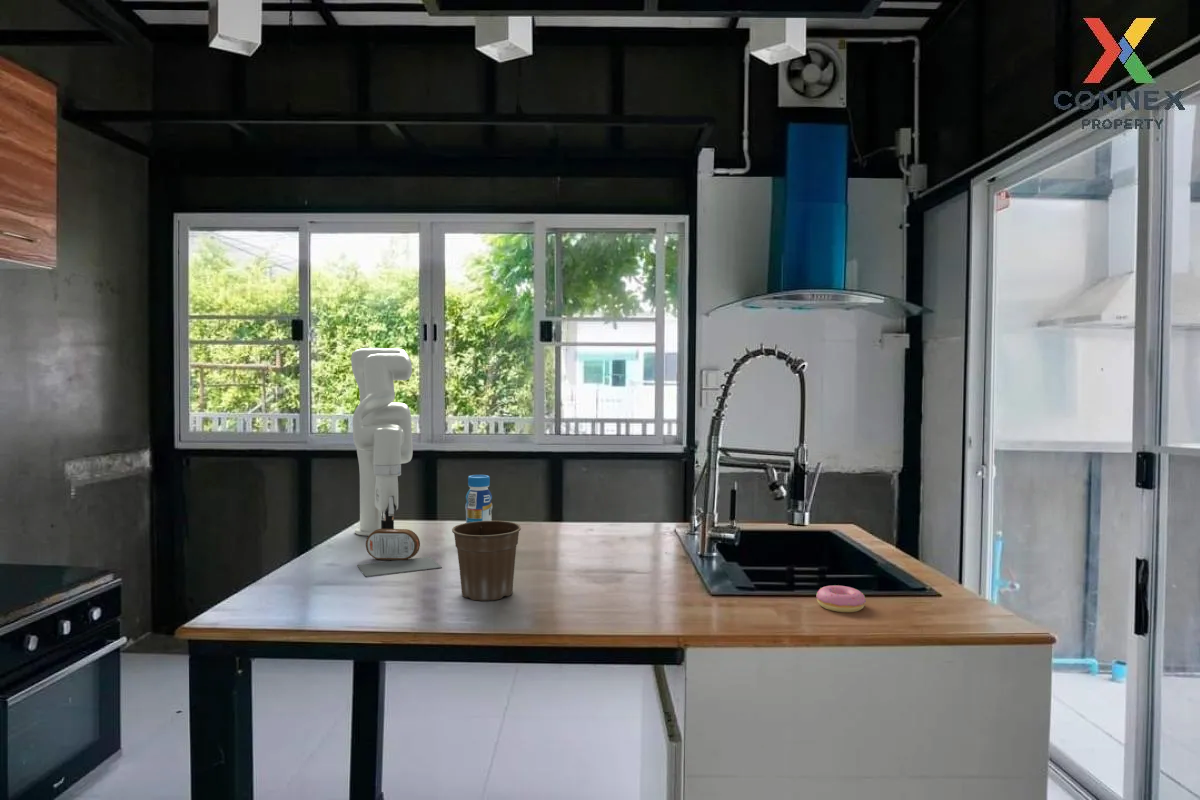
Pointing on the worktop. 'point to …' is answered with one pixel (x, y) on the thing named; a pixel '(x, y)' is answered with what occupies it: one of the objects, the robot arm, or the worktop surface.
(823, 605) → the doughnut
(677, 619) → the worktop surface
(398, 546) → the tin
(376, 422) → the robot arm
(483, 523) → the plant pot
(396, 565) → the mat
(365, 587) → the worktop surface
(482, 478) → the beverage bottle
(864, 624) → the worktop surface
